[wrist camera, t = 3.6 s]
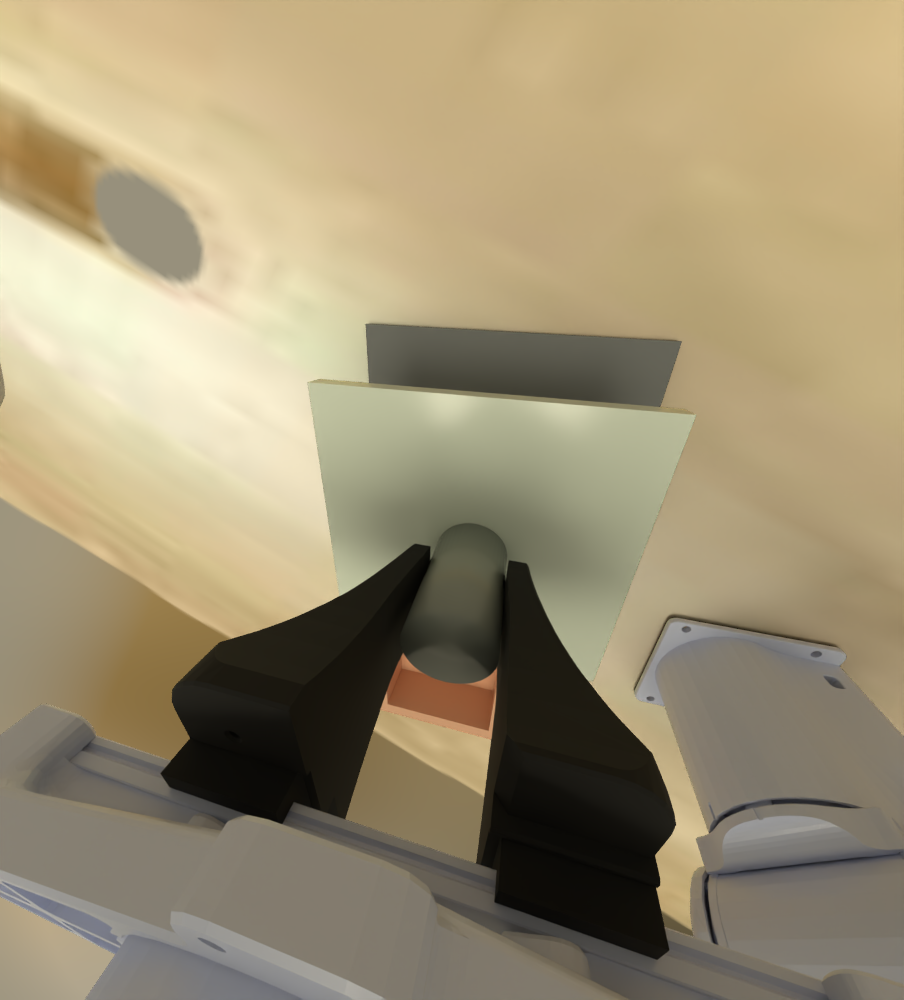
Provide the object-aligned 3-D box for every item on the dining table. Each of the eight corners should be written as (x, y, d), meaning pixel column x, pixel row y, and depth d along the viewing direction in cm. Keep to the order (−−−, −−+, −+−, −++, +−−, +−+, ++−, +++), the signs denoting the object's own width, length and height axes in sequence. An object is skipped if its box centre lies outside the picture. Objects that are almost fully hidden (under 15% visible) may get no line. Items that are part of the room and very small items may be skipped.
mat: (678, 341, 15) (681, 341, 15) (596, 594, 22) (597, 598, 22) (369, 324, 18) (365, 323, 17) (381, 555, 24) (379, 558, 24)
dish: (521, 605, 24) (519, 651, 21) (504, 692, 29) (500, 742, 25) (391, 579, 26) (368, 618, 22) (394, 665, 30) (376, 708, 27)
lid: (684, 408, 10) (818, 477, 6) (589, 665, 16) (617, 806, 11) (320, 379, 12) (191, 412, 7) (351, 619, 18) (289, 724, 13)
